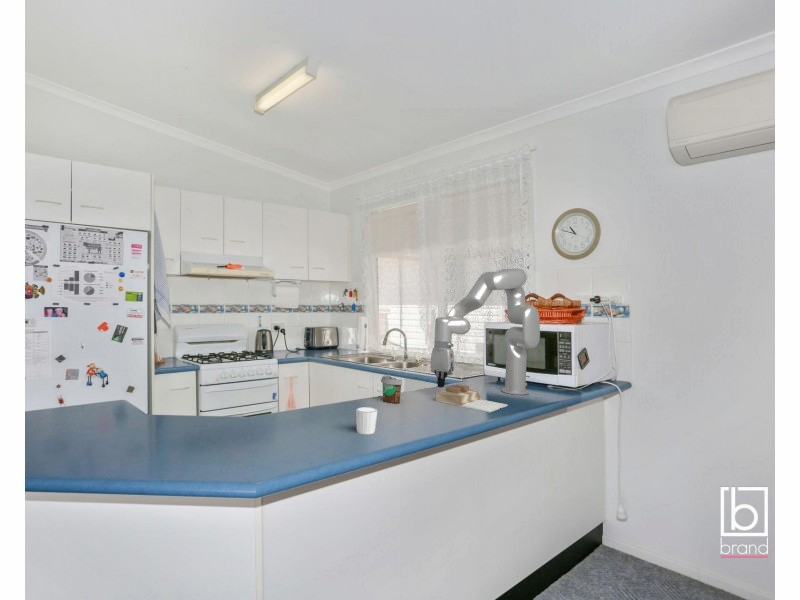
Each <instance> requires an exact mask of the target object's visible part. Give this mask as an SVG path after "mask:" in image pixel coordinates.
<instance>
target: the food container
mask: <svg viewBox="0 0 800 600" xmlns="http://www.w3.org/2000/svg"><path fill="white" fill-rule="evenodd" d="M402 381H403V380H402V379H398V378H396V377H392V375H391V374H384V375H383V376H381V379H380V382H381V383H382V402H384V403H387V404H391V403H392V404H394V405H396V404H398V405H399V404H400V403H401V390H402V385H403V382H402Z"/></svg>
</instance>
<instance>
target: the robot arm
mask: <svg viewBox="0 0 800 600" xmlns="http://www.w3.org/2000/svg"><path fill="white" fill-rule="evenodd" d="M527 278H528V276H527V273H526V271H525V270H523V269H521V268H504V269H500V270H497V271H486V272H483V273H481V275H480V276H479V277H478V279H477V280H476V281H475V283H474V284H473V285H472V287H471V289H470V290H469V292H467V295H465V297H464V298H462V299H461V300H460V301H458V302H457V303H456V304H455V305H454V306H453V307H452V308H451V309H450V311H449V312H448V313H447V314H446V316H445V317H444V316H443V317H442V316H440V317H439V316H438V317H436V318H435V320H434V324H435V325H434V345H433V347H432V352H431V357H430V372H431V373H433V374H434V375H435V377H436V378H437V383H436V385H437V387H438V388H444V387H445V385H446V378H447V377H448V376H452V375H453V371H454V370H455V355H454V349H453V347H454V343H452V341H453V338H452V337H453V334H456V335H465V334H468V332H469V331H470V330H471V322H470V321H469V320H468V319H466V318H464V317H466V316H467V315H468V314H469V313H472V312H474V311H476V310H479V309H480V308H482V307H483V306H484V304H485V303H486V302H487V300H488V299H489V297H490V295H491V294H492V292H493V291H504V292H505V294H506V300H507V301H506V302H507V303H506V305H507V308H506V309H507V320H508V322H510V323H512V324H515V325H522V326H511V327H509V328H508V329H507V330H506V332H505V334H504V340H505V349H506V353H505V354H506V359H505V381H504V387H502V388H501V392H502V393H505V394H510V395H516V396H517V395H520V396H521V395H522V396H523V395H528V394H529V390H527V389H526V387H527V386H528V383H527V381H526V379H527V376H526V375H527V359H528V356H527V351H526V349H535V348H537V347H538V346H539V343H540V339H541V324H540V322H541V321H540V313H539V311H538V309H537V307H536V306H534V305H531V304H526V301H527V300H526V292H525V290H524V288H523V286H524V285H525V284H526V283H527V280H528V279H527Z"/></svg>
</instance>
